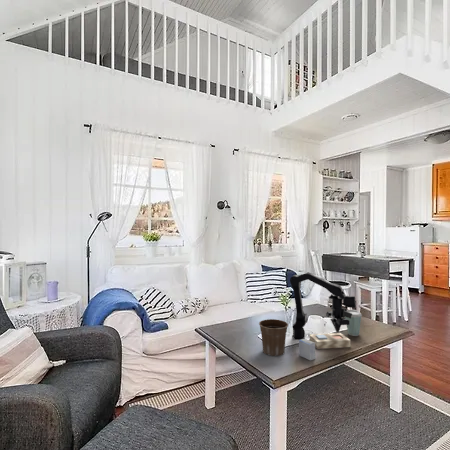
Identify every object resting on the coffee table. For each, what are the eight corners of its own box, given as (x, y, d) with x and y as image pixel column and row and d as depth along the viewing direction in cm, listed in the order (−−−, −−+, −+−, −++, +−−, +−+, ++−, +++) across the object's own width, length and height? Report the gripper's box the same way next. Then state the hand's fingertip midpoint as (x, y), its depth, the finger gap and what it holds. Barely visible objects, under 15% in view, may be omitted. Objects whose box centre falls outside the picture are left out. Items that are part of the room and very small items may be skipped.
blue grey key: (319, 343, 180) (319, 337, 180) (315, 339, 185) (315, 334, 185) (327, 342, 180) (327, 337, 180) (323, 339, 185) (323, 334, 185)
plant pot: (294, 355, 168) (293, 326, 168) (268, 360, 162) (267, 329, 162) (278, 344, 183) (278, 317, 183) (254, 348, 177) (254, 321, 177)
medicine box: (315, 358, 163) (315, 342, 163) (309, 360, 161) (309, 344, 161) (304, 353, 170) (304, 338, 170) (298, 355, 167) (298, 339, 167)
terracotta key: (335, 344, 181) (335, 339, 181) (331, 341, 186) (331, 336, 186) (343, 344, 181) (343, 339, 181) (339, 340, 186) (339, 336, 186)
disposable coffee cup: (365, 336, 195) (365, 312, 195) (352, 338, 192) (351, 314, 192) (354, 330, 205) (353, 308, 205) (340, 332, 202) (340, 310, 202)
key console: (317, 348, 176) (317, 341, 176) (309, 341, 188) (309, 334, 188) (350, 346, 178) (350, 340, 178) (340, 339, 190) (340, 332, 190)
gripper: (358, 309, 175) (358, 337, 175) (342, 301, 194) (342, 326, 194) (339, 310, 174) (340, 338, 174) (325, 302, 193) (326, 327, 193)
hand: (337, 332), depth 184 cm, fingers closed
